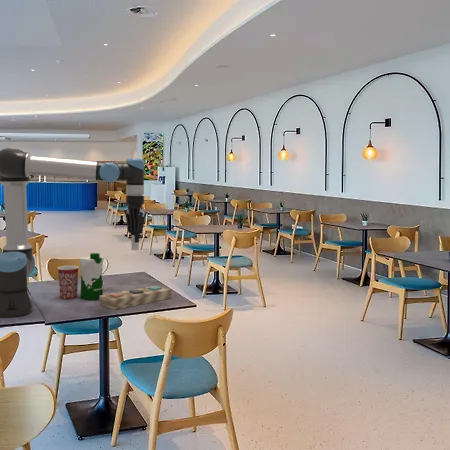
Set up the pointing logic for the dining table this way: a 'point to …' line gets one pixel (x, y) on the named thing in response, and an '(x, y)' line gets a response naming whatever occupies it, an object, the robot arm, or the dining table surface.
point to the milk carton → (91, 276)
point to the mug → (68, 281)
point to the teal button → (154, 288)
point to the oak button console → (134, 298)
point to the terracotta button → (116, 295)
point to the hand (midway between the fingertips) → (135, 249)
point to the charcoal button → (136, 291)
